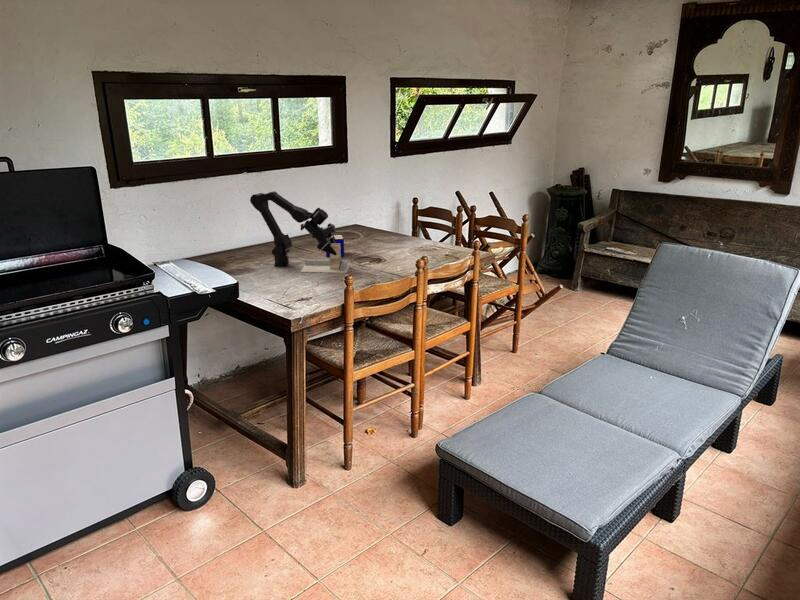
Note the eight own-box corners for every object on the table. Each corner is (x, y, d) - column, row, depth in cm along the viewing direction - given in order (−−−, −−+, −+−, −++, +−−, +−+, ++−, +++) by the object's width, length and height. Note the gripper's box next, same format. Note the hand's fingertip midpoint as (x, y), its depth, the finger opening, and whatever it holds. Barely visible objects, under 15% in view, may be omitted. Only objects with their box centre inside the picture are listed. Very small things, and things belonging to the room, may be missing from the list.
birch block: (339, 269, 304) (338, 246, 300) (330, 269, 304) (329, 246, 300) (341, 266, 309) (340, 243, 306) (332, 266, 310) (331, 243, 306)
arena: (300, 272, 300) (300, 266, 299) (305, 265, 313) (305, 259, 312) (346, 273, 299) (346, 267, 298) (349, 265, 312) (349, 260, 311)
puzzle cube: (326, 257, 329) (325, 239, 326) (324, 253, 338) (324, 235, 335) (344, 256, 331) (344, 238, 328) (342, 252, 340) (342, 234, 337)
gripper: (322, 223, 290) (346, 245, 293) (329, 215, 308) (350, 237, 311) (307, 238, 293) (330, 261, 296) (314, 230, 311) (336, 252, 314)
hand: (337, 252), depth 304 cm, fingers open, 9 cm apart
